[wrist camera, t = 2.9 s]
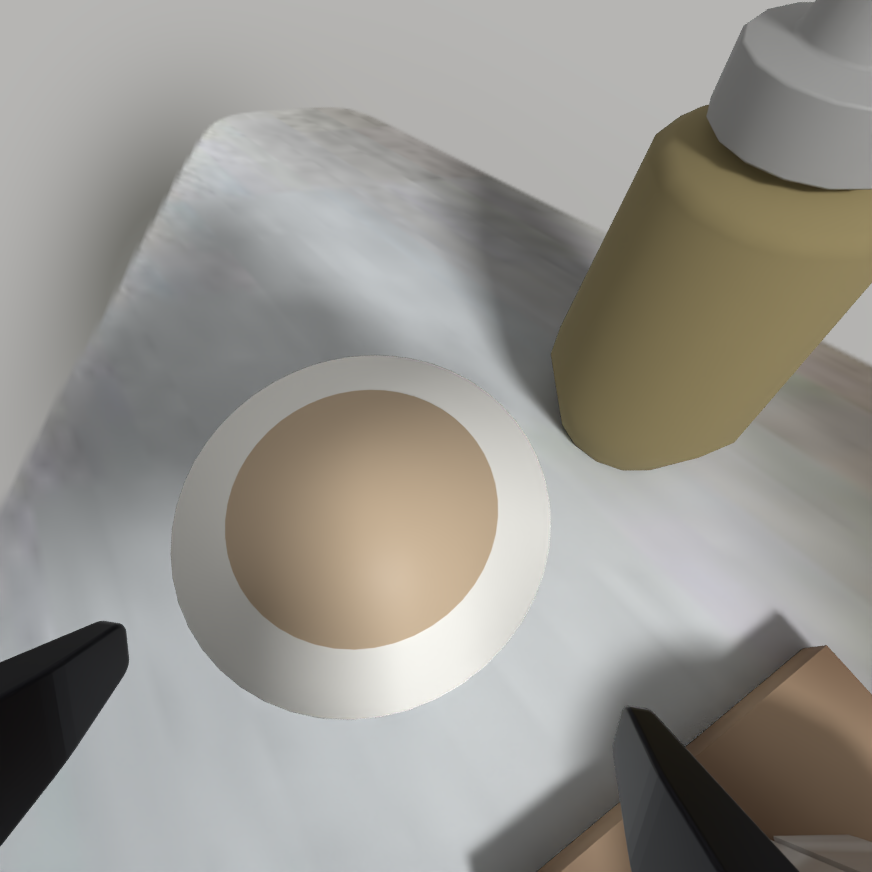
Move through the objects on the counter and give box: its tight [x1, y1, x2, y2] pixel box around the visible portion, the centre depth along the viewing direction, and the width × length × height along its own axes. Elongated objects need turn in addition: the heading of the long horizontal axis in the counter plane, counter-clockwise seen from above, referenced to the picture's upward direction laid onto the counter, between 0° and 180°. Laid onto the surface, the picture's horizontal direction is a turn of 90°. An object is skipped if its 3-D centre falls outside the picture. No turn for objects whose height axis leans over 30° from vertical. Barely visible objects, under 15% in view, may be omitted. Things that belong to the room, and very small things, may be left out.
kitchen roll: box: [171, 355, 551, 720], centre depth 12 cm, size 5×5×13 cm
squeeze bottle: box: [551, 0, 872, 470], centre depth 14 cm, size 8×8×18 cm
